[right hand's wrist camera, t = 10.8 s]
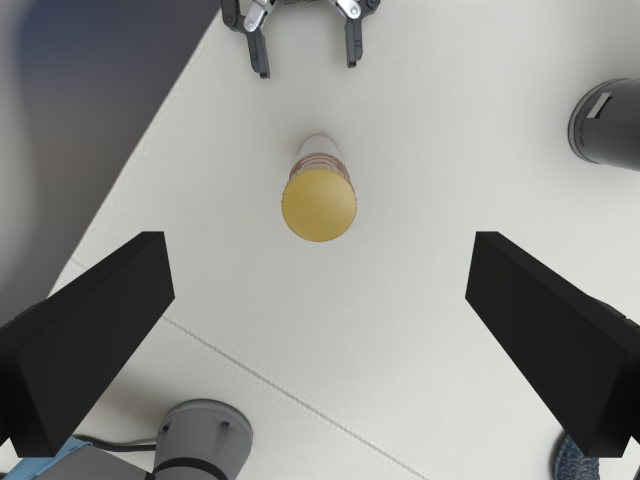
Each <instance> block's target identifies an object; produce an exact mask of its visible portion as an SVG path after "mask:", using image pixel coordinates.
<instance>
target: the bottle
mask: <svg viewBox="0 0 640 480" xmlns="http://www.w3.org/2000/svg"><path fill="white" fill-rule="evenodd" d="M317 163H321V164H325V163H326V164H327V165H331V166H332V165H333V166H334V167H335V168H337V169H340V171H341V172H342V173H343V174H346V177H347V178H348V180H350V179H349V174H348V171H347V169H346V167H345V164H344V162H343V160H342V157H341V155H340V153H339V150H338V148H337V146H336V144H335V142H334V141H333V140H332V139H331V138H329V137H328V136H325V135H314V136H312V137H310V138H308V139H307V140H306V141H305V142H304V144H303V146H302V148H301V150H300V152H299V155H298V157H297V159H296V161H295V163H294V166H293V168H292V170H291V173H290V176H289V180H290V178H291V176H292V175H294V174H295V173H296V171H297V170H300V169H301V168H303V166H304V167H305V166H307V165H310V164H317Z"/></svg>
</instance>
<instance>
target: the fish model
mask: <svg viewBox="0 0 640 480" xmlns="http://www.w3.org/2000/svg"><path fill="white" fill-rule="evenodd" d="M598 460H599V458H586V457H585V456H584V455H583V453H582V452H581V451H580V449H579V448H578V447H577V445H576V444H575V443H574V441H573V440H572V439H571V437H570V436H569V435H568V434H567V435H565V439H564V440H563V441H562V443H561V446H560V447H559V450H558V452H557V456H556V459H555V461H554V466H553V470H552V471H553V478H554V480H600V476H599V474H598V473H599V472H598V471H599V468H598V466H599V462H598Z"/></svg>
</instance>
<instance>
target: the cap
mask: <svg viewBox="0 0 640 480" xmlns="http://www.w3.org/2000/svg"><path fill="white" fill-rule="evenodd" d="M356 201H357V199H356V197H355V191H354V189H353V186H352V184H351V182H350V180H348V178H347V177H346V174H343V173H342V172H341V171H340V169H337V168H335V167H334V166H333V165H332V166H331V165H327V164H326V163H325V164H321V163H317V164H310V165H307V166H305V167H304V166H303V168H301V169H300V170H297V171H296V173H295V174H294V175H292V176H291V178H290V180H289V181H288V182H287V184H286V187H285V190H284V192H283V198H282V201H281V203H282V213H283V217H284V220H285V222H286V223H287V225H288V226H289V228H290V229H291V230H292V231H293V232H294V233H295V234H297V235H298V236H300V237H301V238H303V239H306V240H309V241H314V242H324V241H329V240H332V239H335V238H337V237H339V236H340V235H342V234H343V233H344V232H345V231H346V230H347V229H348V228H349V227H350V225H351V224H352V222H353V220H354V217H355V214H356V208H357V207H356Z"/></svg>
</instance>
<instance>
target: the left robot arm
mask: <svg viewBox="0 0 640 480" xmlns="http://www.w3.org/2000/svg"><path fill="white" fill-rule="evenodd" d="M278 1H280V2H282V3H284V4H285V5H286V4H293V3H295V2H297V1H299V0H278ZM304 1H317V0H304ZM276 2H277V0H253V2H252V4H251V7H250V9H249V11H248V13H247V16H242V15H241V13H240V4H239V0H221V8H222V16H223V22H224V23H225V25H227V26H228V27H229V28H230V29H231V30H232V31H234V32H241V33H244V34H246V36H247V39H248V46H249V52H250V58H251V64H252V68H253V69H254V71H255V72H256V73H260V77H261V78H262V79H266V78H270V72H269V65H268V58H267V51H266V44H265V37H264V36H263V35H262V33H261V31H262V29H263V27H264V25H265V23H266V21H267V18H268V17H269V16H270V14H271V13H272V11H273V8H274V6H275V4H276ZM329 2H330V3H331V4H332V5H333V6H334V7H335V8H336V9H337V10H338V11H339V12H340V14H341V15H342V16H343V18H344V19H345V20H346V23H345V39H346V53H347V66H348V68H354V67H356V61H357V60H360V59H361V56H362V53H363V50H362V33H361V20H362V19H363V18H364V17H366V16H368V15H370V14H373V13H374V12H375V11H376V9H377V7H378V6H379V4H380V0H360V1H358V2H356V1H355V0H329ZM569 141H570V144H571V147H572V149H573V151H574V152H575V153H576V154H577V155H578V156H579V157H580V158H581V159H583V160H585V161H588V162H591V163H596V164H605V165H610V166H615V167H619V168H624V169H629V170H634V171H639V172H640V78H638V79H616V80H611V81H608V82H605V83H603V84H601V85H599V86H597V87H596V88H594V89H593V90H592V91H590V92H589V93H588V94H587V95H586V96H585V97H584V98H583V99H582V100H581V102H580V103H579V104H578V106H577V107H576V109H575V111H574V113H573V115H572V118H571V121H570V125H569Z"/></svg>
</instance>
